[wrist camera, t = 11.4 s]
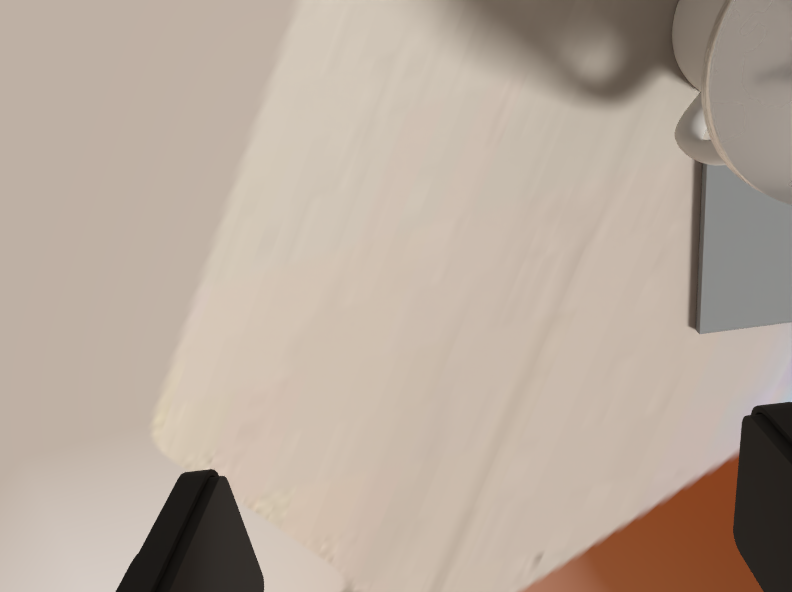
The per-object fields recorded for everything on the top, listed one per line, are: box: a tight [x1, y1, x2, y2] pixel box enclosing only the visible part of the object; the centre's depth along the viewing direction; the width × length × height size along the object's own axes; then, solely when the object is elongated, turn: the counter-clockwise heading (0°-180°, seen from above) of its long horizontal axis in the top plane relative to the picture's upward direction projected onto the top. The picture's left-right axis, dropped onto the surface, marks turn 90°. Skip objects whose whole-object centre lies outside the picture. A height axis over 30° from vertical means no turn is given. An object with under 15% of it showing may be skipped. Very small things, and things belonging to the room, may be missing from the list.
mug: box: [672, 0, 726, 165], centre depth 28 cm, size 12×8×11 cm
